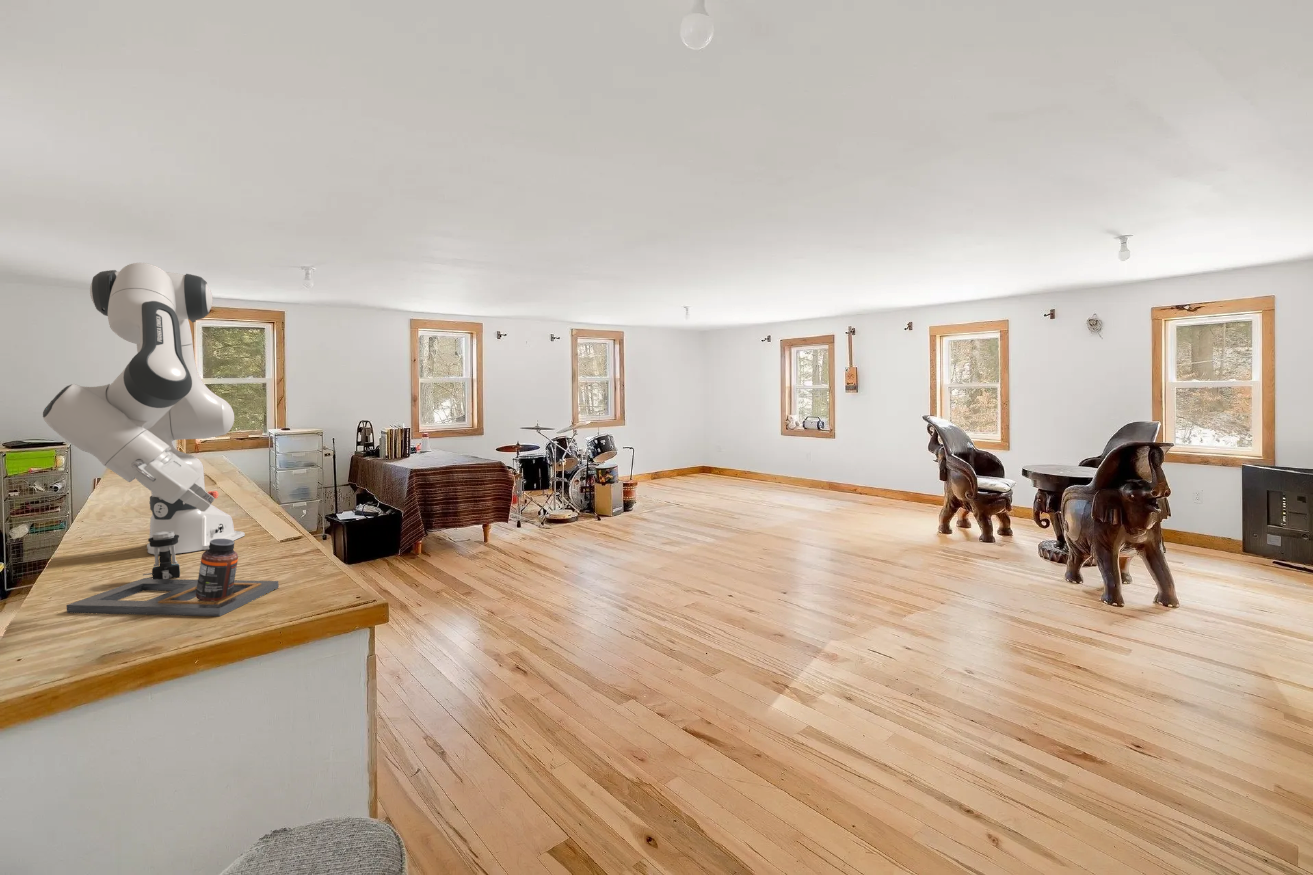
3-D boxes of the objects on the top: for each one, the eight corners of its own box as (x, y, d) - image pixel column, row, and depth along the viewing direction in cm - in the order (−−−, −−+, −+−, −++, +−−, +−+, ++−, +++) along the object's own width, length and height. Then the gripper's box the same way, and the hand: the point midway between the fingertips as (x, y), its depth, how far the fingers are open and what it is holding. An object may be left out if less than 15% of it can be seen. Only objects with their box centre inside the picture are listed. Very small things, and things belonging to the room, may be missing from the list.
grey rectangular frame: (142, 585, 134) (142, 577, 134) (278, 588, 132) (278, 579, 132) (67, 612, 119) (66, 603, 118) (220, 616, 116) (219, 607, 116)
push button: (142, 584, 135) (138, 537, 135) (144, 578, 140) (140, 533, 139) (181, 578, 139) (178, 533, 138) (182, 572, 144) (179, 528, 143)
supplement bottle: (229, 590, 129) (239, 536, 128) (233, 602, 124) (243, 546, 123) (193, 592, 125) (202, 536, 124) (196, 604, 120) (205, 546, 119)
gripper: (144, 450, 110) (217, 501, 115) (165, 441, 128) (227, 485, 133) (113, 478, 108) (188, 528, 114) (138, 465, 126) (202, 509, 131)
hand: (209, 505), depth 124 cm, fingers open, 5 cm apart
